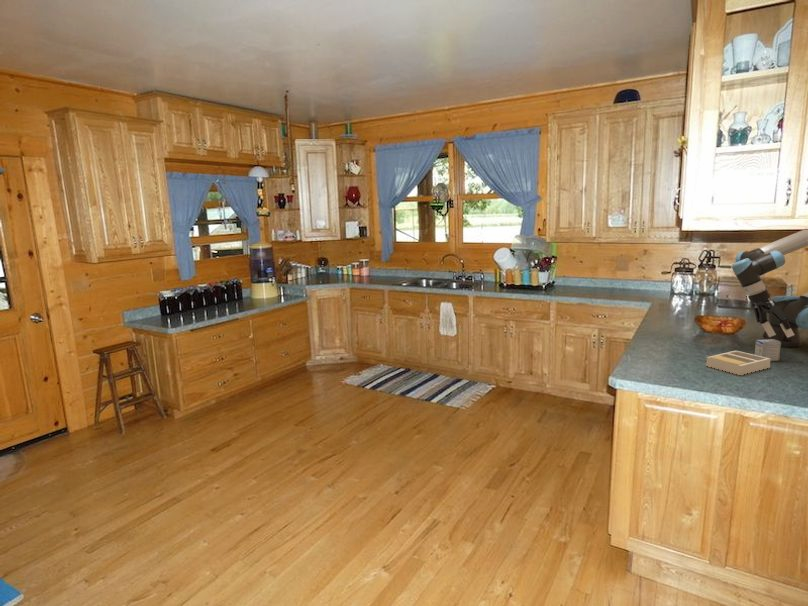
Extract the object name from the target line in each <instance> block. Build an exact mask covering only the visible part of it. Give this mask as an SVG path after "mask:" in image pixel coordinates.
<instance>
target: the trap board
mask: <svg viewBox="0 0 808 606" xmlns="http://www.w3.org/2000/svg"><path fill="white" fill-rule="evenodd" d="M770 360H771V359H770V358H766V357H762V356H757V355H755V354H754V353H747V352H743V351H740V350H732V351H727V352H724V353H723V352H722V353H719V354H715V355H711V356H707V357H706V365H705V366H706V367H707V366H708V368H711V367H712V368H711V369H714V368H715V370H718V369H719V370H718V371H722V370H723V371H722V372H725V371H726V372H725V373H729V372H730V373H729V374H732V373H733V374H732V375H736V374H737V376H739V375H741V376H744V374H745V375H748V374H752V373H755V371H756V372H760V371H762V370H763V369H764V370H766V369H767V368H768V369H770V368H771V367H770V366H771V361H770ZM759 370H760V371H759ZM751 372H752V373H751ZM747 373H748V374H747Z"/></svg>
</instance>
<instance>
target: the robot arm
mask: <svg viewBox="0 0 808 606" xmlns="http://www.w3.org/2000/svg"><path fill="white" fill-rule="evenodd" d="M806 247H808V230H804V229H802V230H799V231H796V232H795V233H792V234H790V235H787V236H784V237H782V238H780V239H777V240H775V241H773V242H770V243H768V244H764V245H762V246H760V247H758V248H754V249H752V250H744V251H740V252H738V253H737V254H736V256H735V262H734V263H733V264H732V265H731V268H732V269H731V270H732V272H733V273H734V276H735V277H736V278H737V280H738V281H739V283H740V285H741V287H742V288H743V292H745V294H746V295H747V298H748V300H749V301H750V304H751V307H752V309H753V312H754V315H755V320H756V322H757V323H760V324H761V325H762V328H763V329H764V332H763V334H762V336H761V340H765V339H774V340H777V341H780V342H781V348H782V347H783V348H798V347H801V346H802V338H801V334H800V329H802V330H808V291H806V293H803V294H800V295H774V296H772V297H771V294H770V292H769V290H767V289H766V288H767V287H766V286H765V284H764V282H763V280H762V278H761V277H762V276H763V275H765V274H767V273H770V272H772V271H774V270H778V269H779V268H781V267H782V266H785V263H786V258H785V255H788V254H791V253H794V252H797V251H798V250H799V251H800V250H801V249H804V248H806ZM769 298H770V300H769ZM767 315H768V317H767ZM799 328H800V329H799ZM797 346H798V347H797Z"/></svg>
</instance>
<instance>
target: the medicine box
mask: <svg viewBox="0 0 808 606" xmlns="http://www.w3.org/2000/svg"><path fill="white" fill-rule="evenodd" d="M781 348H782V346H781V342H780V341H777V340H774V339H765V340H762V339H756V340H755V348H754V355H757V356H762V357H766V358H770V359H771V360H770V362H775V361H777V362H778V361H780V355H781Z"/></svg>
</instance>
